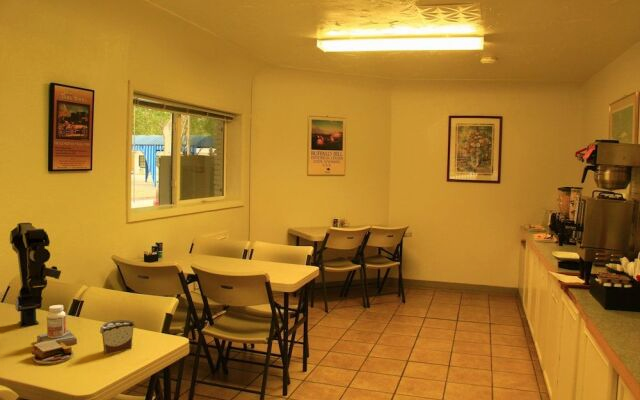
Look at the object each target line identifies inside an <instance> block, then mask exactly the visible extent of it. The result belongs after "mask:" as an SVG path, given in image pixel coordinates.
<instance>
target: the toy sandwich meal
mask: <svg viewBox="0 0 640 400" xmlns="http://www.w3.org/2000/svg"><path fill="white" fill-rule="evenodd" d="M72 348H73V347H72V346H66V345H65V344H64V343H60V344H58V343H57V342H56V341H55V340H50V341H44V342H40V343H38V342H37V343H34V345H33V349H32V350H31V353H30V354H31V355H32V356H33V357H32V361H33V362H35V363H36V364H38V365H56V364H60V363H64V362H67V361H68V360H70V359H71V358H73V357H74V354H75V352H74V351H72Z"/></svg>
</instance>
